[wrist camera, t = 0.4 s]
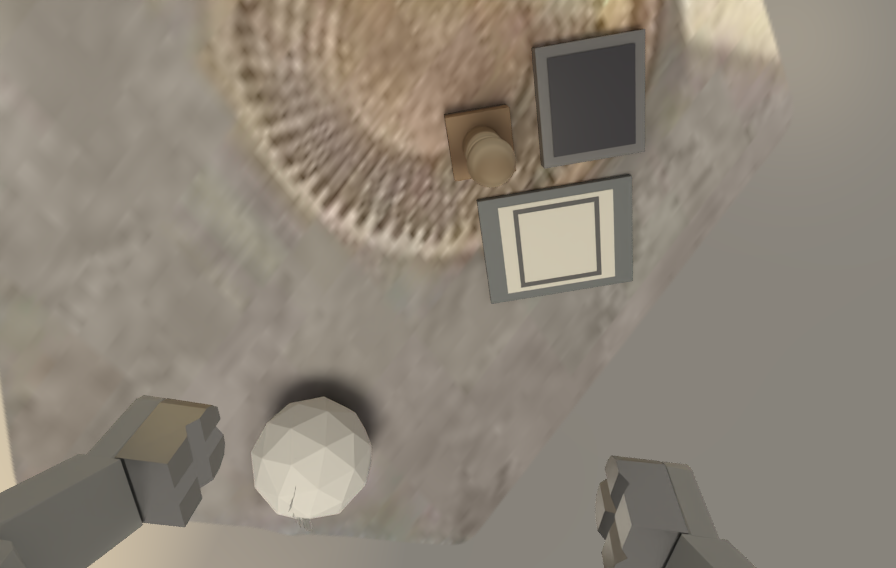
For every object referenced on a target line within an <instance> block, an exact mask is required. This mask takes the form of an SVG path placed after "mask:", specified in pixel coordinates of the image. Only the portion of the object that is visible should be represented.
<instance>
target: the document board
mask: <svg viewBox="0 0 896 568" xmlns="http://www.w3.org/2000/svg"><path fill="white" fill-rule="evenodd" d="M477 205H478V212H479V220H480V227H481V234H482V241H483V248H484V255H485V263H486V270H487V277H488V284H489V291H490V298H491V303H492V304H494V303H500V302H506V301H513V300H519V299H525V298H531V297H537V296H543V295H550V294H556V293H562V292H568V291H574V290H580V289H587V288H593V287H599V286H605V285H611V284H617V283H624V282H630V281H633V255H632V176H631V175H629V174H628V175H622V176H616V177H610V178H604V179H598V180H593V181H587V182H581V183H575V184H569V185H563V186H557V187H551V188H545V189H539V190H533V191H527V192H521V193H515V194H509V195H503V196H497V197H491V198H485V199H479V200H477Z"/></svg>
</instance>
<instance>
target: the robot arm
mask: <svg viewBox="0 0 896 568" xmlns="http://www.w3.org/2000/svg"><path fill="white" fill-rule="evenodd" d="M219 420H220V415H219V411H218V407H216V406H213V405H208V404H201V403H195V402H188V401H182V400H175V399H169V398H167V399H166V398H160V397H153V396H146V395H144V396H142V397H140V398H137V399H136V400H135V401H134V402H133V403H132V404H131V405H130V406H129V408H128V409H127V410H126V411H125V412H124V413H123V414H122V415H121V416H120V418H119V419H118V420H117V421H116V422H115V423H114V424H113V425H112V426H111V428H110V429H109V430H108V431H107V432H106V433H105V434H104V435H103V436H102V438H101V439H100V440H99V441H98V442H97V443H96V444H95V445H94V447H93V448H92V449H91V450H90V451H89V452H88V453H87V454H86V455H85V454H78V455H76V456H74V457H72V458H70V459H68V460H65V461H63V462H61V463H59V464H57V465H55V466H53V467H51V468H49V469H47V470H45V471H43V472H41V473H39V474H37V475H35V476H33V477H31V478H29V479H27V480H25V481H23V482H21V483H19V484H17V485H15V486H13V487H11V488H9V489H7V490H5V491H3V492H1V493H0V568H87V567H88V566H90V565H91V564H92V563H94V562H95V561H96V560H98V559H99V558H100V557H102V556H103V555H104V554H105V553H107V552H108V551H109V550H111V549H112V548H113V547H115V546H116V545H117V544H119V543H120V542H121V541H123V540H124V539H125V538H127V537H128V536H129V535H130V534H132V533H133V532H134V531H136V530H137V529H138V528H140V527H141V526H142V525H143V524H142V523H150V524H160V525H169V526H179V527H185V526H186V525H187V523H188V521H189V520H190V518H191V516H192V515H193V513H194V511H195V510H196V508H197V506H198V505H199V503H200V501H201V500H202V494H201V489H200V488H201V487H203V486H204V485H206V484H207V483H209V482H210V481H212V480H213V479H214V477H215V476H216V474H217V472H218V470H219V468H220V466H221V462H222V459H223V456H224V449H225V441H224V435H223V434H222V433H221V432H220V430H219V429H218V428H217V427H216V425H217V423H218V422H219ZM605 472H606V476H607V479H605V480H604V481H602V482H601V483H600V484H599V488H598V491H597V494H596V504H595V514H596V524H597V529H598V532H599V533H600V534H601V536H602V537H603V538H604V539H605V540H606V541H605V543H604V546H603V549H602V552H601V553H602V558H603V564H604V568H756V567H755V566H754V565H753V564H752V563H751V562H750V561H749V560H748V559H747V558H746V557H745V556H744V555H743V554H742V553H741V552H740V551H738V550H737V549H736V548H735V547H734V546H733V545H732V544H731V543H730V542H729V541H728V540H725V539H719V536H718V534H717V531H716V529H715V526H714V524H713V521H712V519H711V516H710V514H709V511H708V509H707V506H706V504H705V501H704V499H703V496H702V494H701V491H700V489H699V486H698V484H697V481H696V479H695V476H694V474H693V471H692V469H691V468H690V467H689V466H688V465H687V464H678V463H670V462H660V461H654V460H646V459H637V458H628V457H619V456H611V457H610V458H609V459H608V461H607V464H606V466H605Z"/></svg>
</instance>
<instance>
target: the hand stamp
mask: <svg viewBox="0 0 896 568" xmlns="http://www.w3.org/2000/svg"><path fill="white" fill-rule="evenodd" d="M444 117H445V124H446V130H447V137H448V143H449V149H450V156H451V162H452V169H453V175H454V179H455V181H461V180H467V179H473V180H474V181H475V182H476V183H477V184H479V185H481V186H484V187H489V188H493V187H498V186H501V185H503V184H504V183H506V182H507V181H508V180H509V179H510V178H511V177H512V175H513V173H514V171H516V156H515V153H514V147H513V138H512V128H511V118H510V109H509V107H508V106H507V105H506V104H502V105H496V106H490V107H484V108H478V109H473V110H467V111H461V112H455V113H449V114H444Z"/></svg>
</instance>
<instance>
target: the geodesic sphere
mask: <svg viewBox="0 0 896 568" xmlns="http://www.w3.org/2000/svg"><path fill="white" fill-rule="evenodd" d="M251 456H252V466H253V475H254V485H255V488H256V490H257V491H258V492H259V493H260V494H261V495H262V497H263V498H264V499H265V500H266V501H267V502H268V504H269V505H270V506H271V507H272V508H273V509H274V511H275V512H276V513H277V514H279V515H283V516H287V517H292V518H296V523H297V519H299V525H300V527H301V520H303V524H304V528H305V529H306V531H307V528H308V530H309V531H310V530H312V531H313V528H312V524H311V522H310V519H312V518H317V517H323V516H328V515H334V514H339V513H340V512H341V511H342V510H343V509H344V508H345V507H346V506H347V505H348V504H349V502H350V501H351V500H352V499H353V498H354V497H355V496H356V495H357V494H358V493H359V492H360V491H361V489H362V488H363V487H364V486H365V485H366V482H367V478H368V474H369V470H370V465H371V461H372V446H371V443H370V440H369V438H368V435H367V432H366V430H365V428H364V426H363V425H362V423H361V421H360V419H359V418H358V416H357V414H356V413H355V412H354V411H352V410H350V409H348V408H347V407H345V406H343V405H341V404H339V403H336V402H334V401H332V400H330V399H328V398H326V397H319V398H314V399H309V400H303V401H298V402H293V403H289V404H288V405H287V406H286V407H284V408H283V409H282V410H281V411H280V412H279V413H278V414H276V415H275V416H274V417H273V418H272V419H271V420H270V421H268V422H267V424H266V426H265V428H264V429H263V431H262V433H261V435H260V437H259V439H258V440H257V442H256V444H255V446H254V448H253V450H252V451H251Z"/></svg>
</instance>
